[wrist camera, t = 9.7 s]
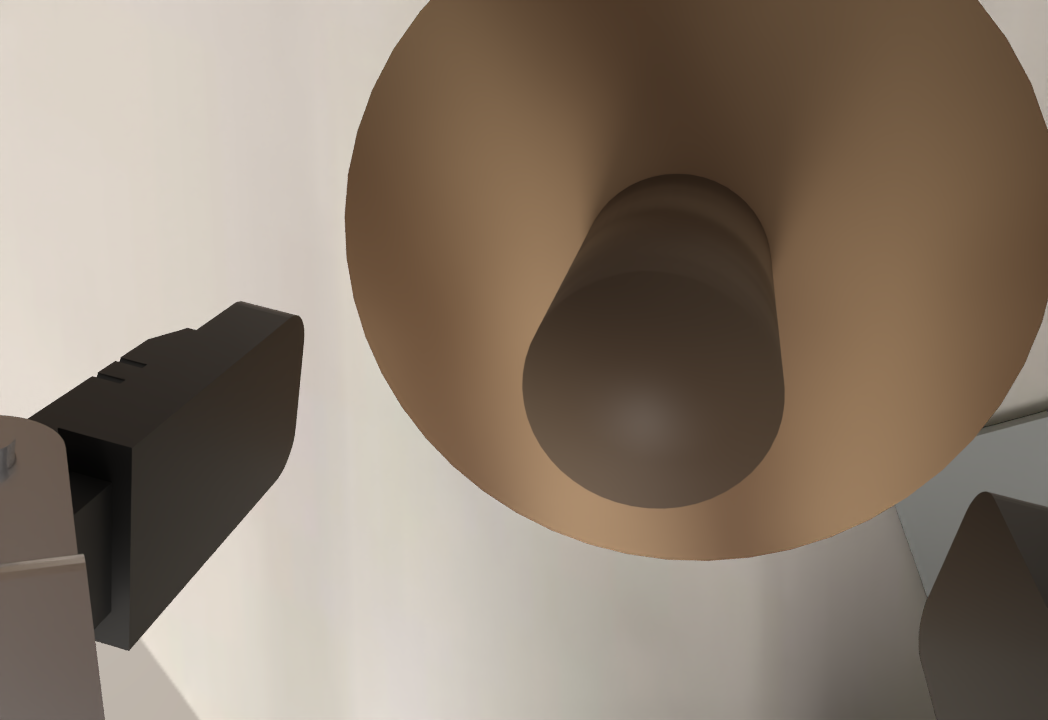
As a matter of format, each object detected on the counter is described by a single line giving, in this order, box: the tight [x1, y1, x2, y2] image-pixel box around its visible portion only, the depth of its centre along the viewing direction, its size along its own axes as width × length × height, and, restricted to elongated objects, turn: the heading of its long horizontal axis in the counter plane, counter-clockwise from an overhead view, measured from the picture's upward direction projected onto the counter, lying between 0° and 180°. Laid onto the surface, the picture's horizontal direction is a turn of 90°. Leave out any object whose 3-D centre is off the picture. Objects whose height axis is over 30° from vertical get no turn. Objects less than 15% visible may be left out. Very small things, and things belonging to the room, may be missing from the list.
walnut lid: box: [345, 0, 1048, 561], centre depth 17 cm, size 14×14×7 cm
